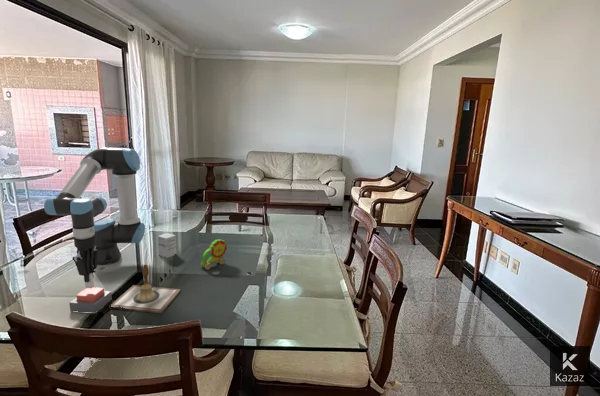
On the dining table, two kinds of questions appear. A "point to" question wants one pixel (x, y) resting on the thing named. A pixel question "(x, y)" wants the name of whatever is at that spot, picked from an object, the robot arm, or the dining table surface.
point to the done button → (90, 294)
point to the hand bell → (146, 288)
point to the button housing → (90, 303)
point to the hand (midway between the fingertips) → (89, 287)
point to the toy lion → (214, 254)
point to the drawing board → (155, 305)
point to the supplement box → (167, 245)
